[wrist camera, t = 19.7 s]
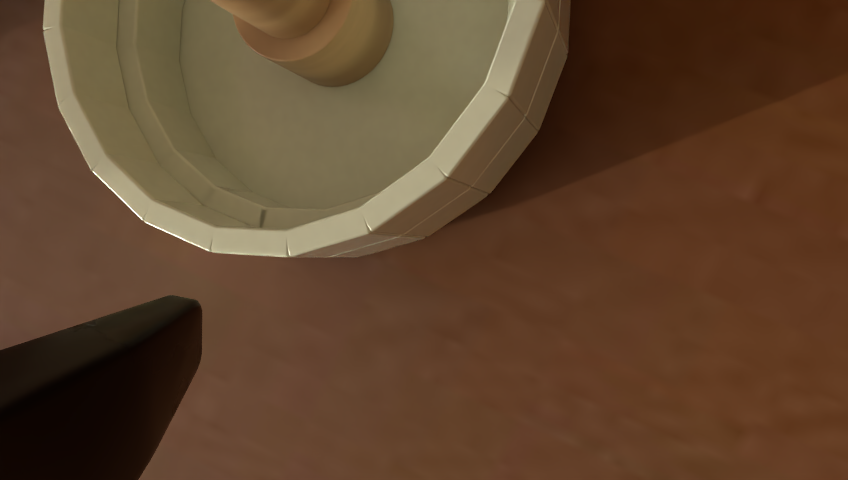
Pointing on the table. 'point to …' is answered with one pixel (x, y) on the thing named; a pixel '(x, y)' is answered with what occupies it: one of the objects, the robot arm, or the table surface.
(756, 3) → the table surface
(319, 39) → the cylinder
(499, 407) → the table surface
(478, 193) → the bowl
